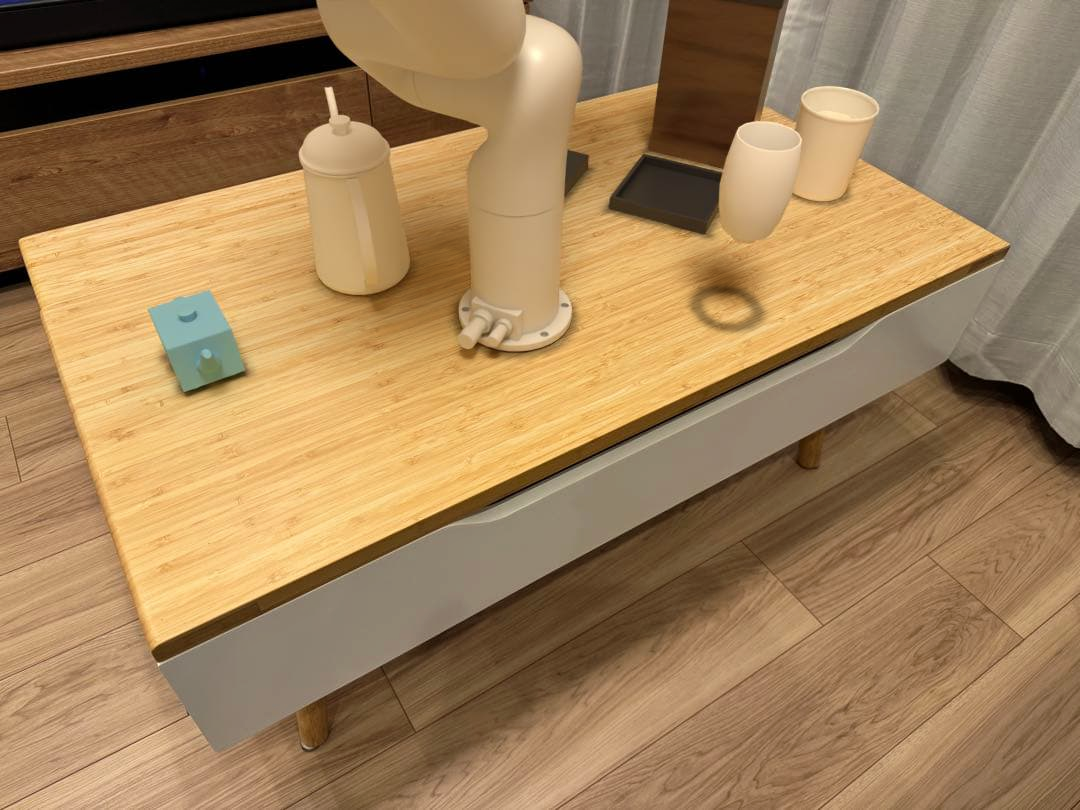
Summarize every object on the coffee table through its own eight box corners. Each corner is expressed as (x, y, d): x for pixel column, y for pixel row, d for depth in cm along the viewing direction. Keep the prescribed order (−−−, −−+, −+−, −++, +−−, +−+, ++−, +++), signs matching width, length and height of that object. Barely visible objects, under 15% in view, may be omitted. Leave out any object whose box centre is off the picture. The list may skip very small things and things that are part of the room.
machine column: (743, 174, 110) (784, -5, 93) (647, 151, 114) (670, -25, 97) (753, 154, 114) (795, -21, 98) (660, 133, 118) (685, -39, 101)
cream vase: (707, 331, 86) (748, 157, 71) (685, 291, 91) (719, 121, 76) (768, 323, 87) (821, 151, 72) (744, 285, 92) (788, 116, 77)
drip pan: (705, 234, 99) (707, 222, 98) (608, 209, 103) (609, 197, 102) (731, 186, 108) (734, 174, 106) (641, 164, 111) (642, 153, 110)
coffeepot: (391, 207, 102) (372, 61, 88) (430, 325, 85) (415, 168, 72) (306, 219, 99) (274, 71, 86) (330, 343, 83) (294, 184, 69)
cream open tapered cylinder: (807, 211, 104) (834, 125, 95) (764, 176, 110) (785, 92, 101) (865, 196, 107) (896, 112, 98) (820, 163, 113) (845, 81, 104)
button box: (553, 209, 102) (555, 182, 100) (486, 191, 105) (485, 164, 102) (588, 169, 110) (590, 142, 107) (524, 153, 113) (524, 127, 110)
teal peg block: (258, 397, 77) (239, 339, 72) (196, 420, 75) (171, 362, 69) (222, 329, 84) (202, 272, 79) (164, 348, 82) (139, 291, 76)
